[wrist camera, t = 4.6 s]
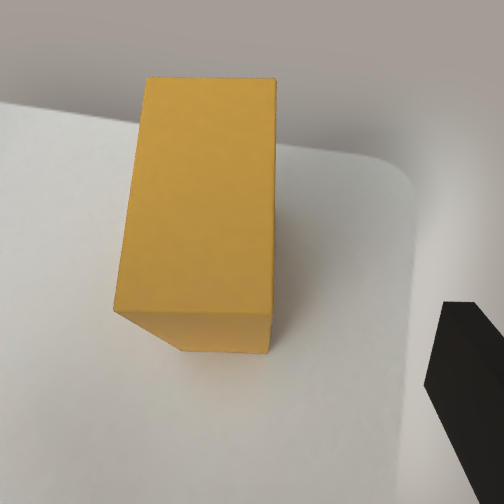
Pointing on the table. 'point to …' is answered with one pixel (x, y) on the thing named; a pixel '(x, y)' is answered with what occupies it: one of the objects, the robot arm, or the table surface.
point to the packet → (202, 215)
